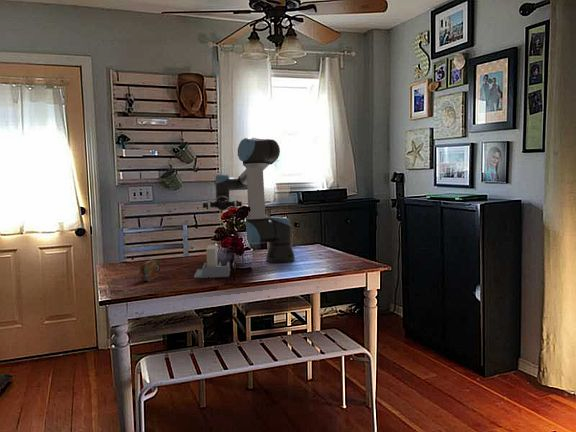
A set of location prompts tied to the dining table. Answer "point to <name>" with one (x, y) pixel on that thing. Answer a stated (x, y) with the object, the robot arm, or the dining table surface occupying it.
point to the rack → (213, 271)
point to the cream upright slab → (212, 256)
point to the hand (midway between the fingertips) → (222, 205)
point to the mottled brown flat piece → (149, 270)
